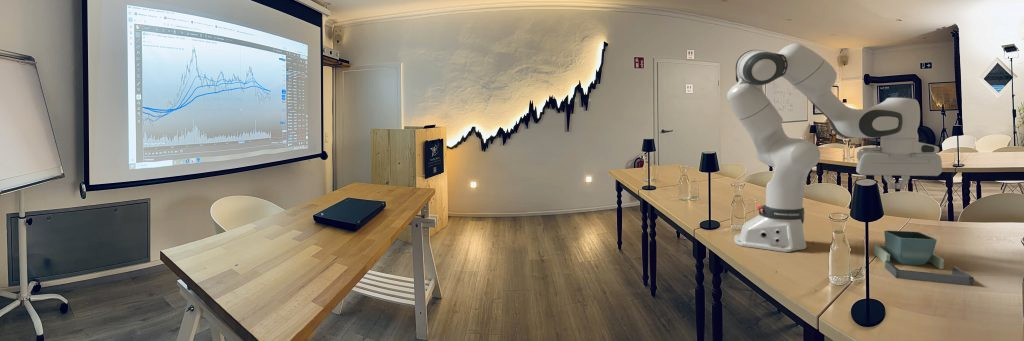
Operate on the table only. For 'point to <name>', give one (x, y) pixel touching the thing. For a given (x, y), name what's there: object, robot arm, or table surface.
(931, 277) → the frame
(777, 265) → the table surface
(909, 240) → the flower pot
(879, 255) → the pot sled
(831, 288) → the table surface
